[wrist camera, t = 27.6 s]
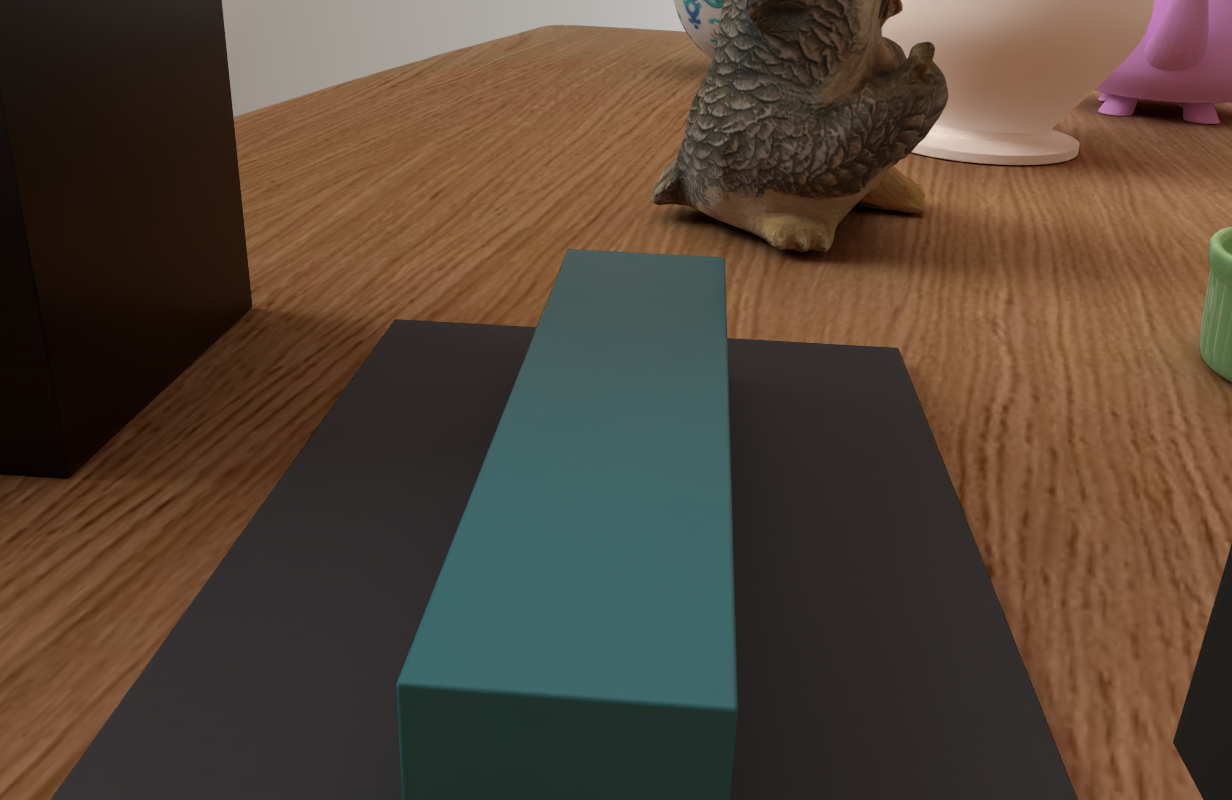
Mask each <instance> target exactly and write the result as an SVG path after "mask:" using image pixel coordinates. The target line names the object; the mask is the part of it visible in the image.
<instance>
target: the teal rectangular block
mask: <svg viewBox="0 0 1232 800" xmlns="http://www.w3.org/2000/svg"><path fill="white" fill-rule="evenodd" d="M396 689H397V708H398V726H399V744H400V763H401V781H402V799H403V800H730V791H731V781H732V770H733V759H734V748H735V738H736V727H737V716H738V690H737V656H736V622H735V588H734V554H733V520H732V486H731V452H730V418H729V384H728V350H727V316H726V282H725V259H724V258H722V257H704V256H686V255H667V254H648V253H630V252H611V251H593V250H574V249H569V250H567V252H566V255H565V257H564V260H563V262H562V265H561V267H560V270H559V272H558V275H557V277H556V280H555V282H554V285H553V288H552V290H551V293H550V295H549V298H548V300H547V303H546V305H545V308H544V310H543V313H542V315H541V318H540V321H539V323H538V326H537V328H536V331H535V333H534V336H533V338H532V341H531V343H530V346H529V348H528V351H527V354H526V356H525V359H524V361H523V364H522V366H521V369H520V371H519V374H518V376H517V379H516V381H515V384H514V387H513V389H512V392H511V394H510V397H509V399H508V402H507V404H506V407H505V409H504V412H503V414H502V417H501V420H500V422H499V425H498V427H497V430H496V432H495V435H494V437H493V440H492V442H491V445H490V448H489V450H488V453H487V455H486V458H485V460H484V463H483V465H482V468H481V470H480V473H479V475H478V478H477V481H476V483H475V486H474V488H473V491H472V493H471V496H470V498H469V501H468V503H467V506H466V508H465V511H464V514H463V516H462V519H461V521H460V524H459V526H458V529H457V531H456V534H455V536H454V539H453V541H452V544H451V547H450V549H449V552H448V554H447V557H446V559H445V562H444V564H443V567H442V569H441V572H440V574H439V577H438V580H437V582H436V585H435V587H434V590H433V592H432V595H431V597H430V600H429V602H428V605H427V607H426V610H425V613H424V615H423V618H422V620H421V623H420V625H419V628H418V630H417V633H416V635H415V638H414V640H413V643H412V646H411V648H410V651H409V653H408V656H407V658H406V661H405V663H404V666H403V668H402V671H401V673H400V676H399V679H398V681H397V684H396Z"/></svg>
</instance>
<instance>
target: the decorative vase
mask: <svg viewBox="0 0 1232 800" xmlns="http://www.w3.org/2000/svg"><path fill="white" fill-rule="evenodd" d="M901 2H902V7H903V10H902V11H901V12H900V13H898V14H896V15H894V16H892V17H890V18H888V19H887V20H886V22H885V23H884V25H883V26H882V37H886V38H888V39H890V40H892V41H894V42H896V43H897V44H898V45H899V46H901V48H902V50H903V52H904V53H905V55H906V58H908V57H909V54H910V50H911V48H912V47H913V46H915V45H916V44H917V43H922V42H930V43H933V45H934V47H935V52H934V57H933V61H934V63H935V64H936V65H937V66H938V67H939V69H940V70H941V71H942V73H943V74H944V76H945V79H946V84H947V89H948V101H947V104H946V106H945V108H944V110H943V112H942V114H941V115H940V117H939V119H938V120H937V121H936V123H935V124H934V125H933V127H932V128H931V130H930V131H929V133H928V134H927V136H926V137H925V138H924V139H923V140H922V141H921V142H920V143H919V144H918V145H917V146H916V147H915V148H914V149H913V151H912V153H916V154H920V155H925V156H930V157H935V158H941V159H947V160H954V161H962V162H972V163H983V164H998V165H1040V164H1051V163H1058V162H1064V161H1067V160H1070V159H1073V158H1075V157H1076V156H1077V155H1078V151H1079V145H1080V144H1079V142H1078V141H1077V140H1076V139H1075V138H1073V137H1071V136H1069V135H1067V134H1064V133H1062V132H1059V131H1055V130H1052V129H1053V126H1055V125H1056V124H1057V123H1058V122H1059V121H1061V120H1062V119H1063V118H1064V117H1065V116H1066V115H1068V114H1069V113H1070V112H1071V111H1072V110H1073V109H1074V108H1075V107H1076V106H1078V105H1079V104H1080V103H1081V102H1082V101H1083V100H1084V99H1085V98H1086V97H1087V96H1089V95H1090V94H1091V93H1092V92H1093V91H1094V90H1095V89H1096V88H1097V87H1098V86H1099V85H1100V84H1102V83H1103V82H1104V81H1105V80H1106V79H1107V78H1108V77H1109V76H1110V75H1111V74H1112V73H1113V72H1114V71H1115V70H1116V69H1117V68H1118V67H1119V66H1120V65H1121V64H1122V63H1123V62H1124V61H1125V60H1126V58H1127V57H1128V56H1129V55H1130V54H1131V53H1132V52H1133V50H1134V49H1135V48H1136V47H1137V45H1138V44H1139V43H1140V41H1141V40H1142V38H1143V36H1144V34H1145V32H1146V30H1147V28H1148V26H1149V23H1150V20H1151V16H1152V12H1153V7H1154V0H901Z"/></svg>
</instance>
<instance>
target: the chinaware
mask: <svg viewBox="0 0 1232 800" xmlns="http://www.w3.org/2000/svg"><path fill="white" fill-rule="evenodd" d="M674 2H675V6H676V10H677V13H678V16H679V18H680V20H681V23H682V25H683V27H684V29H685V30H686V32H687V34H688V35H689V37H690V38H691V39H692V41H693V42H694V43H695V44H696V45H697V47H698V48H699V49H700V50H702V51H703V52H704V53H705V54H706V55H707V56H709V57H710V58H711V59H713V58H714V55H715V53H716V50H717V45H718V28H719V21H720V14H721V10H722V7H723V4H724V2H725V0H674Z"/></svg>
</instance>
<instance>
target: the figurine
mask: <svg viewBox="0 0 1232 800" xmlns="http://www.w3.org/2000/svg"><path fill="white" fill-rule="evenodd" d="M902 10H903V7H902V2H901V0H725V2H724V4H723V7H722V10H721V14H720V21H719V28H718V45H717V50H716V53H715V55H714V58H713V61H712V64H711V66H710V69H709V71H708V73H707V75H706V77H705V79H704V81H703V83H702V85H701V87H700V88H699V90H698V92H697V94H696V96H695V97H694V99H693V102H692V106H691V109H690V113H689V117H688V121H687V126H686V130H685V135H684V139H683V141H682V144H681V146H680V149H679V153H678V157H677V158H676V159H675V160H674V161H673V162H671V163H670V164H669V165H668V166H667V167H666V168H665V170H664V171H663V172H662V174H661V176H660V179H659V181H658V182H657V183H656V186H655V188H654V191H653V194H652V198H651V199H652V202H654V203H655V204H658V205H664V204H677V205H687V206H690V207H693V208H696V209H697V210H699V211H701V212H703V213H705V214H706V215H708V216H710V217H712V218H714V219H717V220H719V221H722V222H724V223H727V224H730V225H732V226H735V227H737V228H740V229H743V230H745V231H748V232H750V233H753V234H755V235H757V236H759V237H761V238H763V239H765V240H766V241H767V242H768V243H769V244H770V245H771V246H773V247H775V248H778V249H780V250H785V249H791V250H796V251H800V252H806V251H808V250H811V249H812V250H818V251H823V252H827V251H828V250H829V248H830V247H831V245H832V243H833V239H834V233H835V229H836V227H837V225H838V224H839V223H840V222H841V220H842V219H843V218H844V217H845V216H846V215H847V214H848V212H849V211H850V210H851V209H852V208H853V207H854V206H855V205H860V206H866V207H872V208H878V209H887V210H895V211H901V212H906V213H919V212H921V211H923V210H924V209H925V205H926V202H925V193H924V192H923V191H922V190H921V188H920V187H919V186H918V185H917V184H916V183H915V182H914V181H912V180H911V179H909V178H908V177H906V176H904V175H903V174H902V173H901V172H899V171H898V170H897V169H896V168H894V167H893V165H895V164H896V163H897V162H898V161H899V160H900V159H903V158H905V157H906V156H908V155H909V154H910V153H911V152H912V151H913V149H914V148H915V147H916V146H917V145H918V144H919V143H920V142H921V141H922V140H923V139H924V138H925V137H926V136H927V134H928V133H929V131H930V130H931V128H932V127H933V125H934V124H935V123H936V121H937V120H938V119H939V117H940V115H941V114H942V112H943V110H944V108H945V106H946V104H947V101H948V89H947V84H946V79H945V76H944V74H943V73H942V71H941V70H940V69H939V67H938V66H937V65H936V64H935V63H934V61H933V57H934V52H935V47H934V45H933V43H930V42H922V43H917V44H916V45H915V46H913V47H912V48H911V50H910V54H909V57H908V58H906V55H905V53H904V52H903V50H902V48H901V46H899V45H898V44H897V43H896V42H894V41H892V40H890V39H888V38H886V37H882V26H883V25H884V23H885V22H886V20H887V19H888V18H890V17H892V16H894V15H896V14H898V13H900V12H901V11H902Z"/></svg>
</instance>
